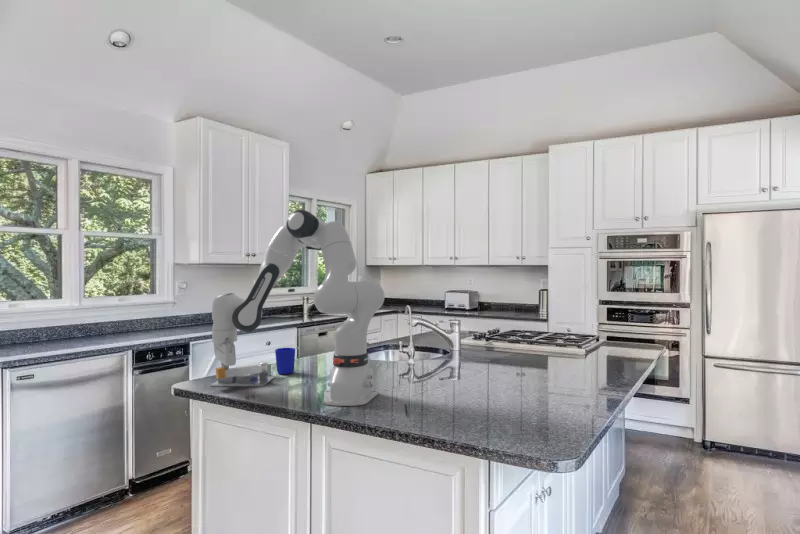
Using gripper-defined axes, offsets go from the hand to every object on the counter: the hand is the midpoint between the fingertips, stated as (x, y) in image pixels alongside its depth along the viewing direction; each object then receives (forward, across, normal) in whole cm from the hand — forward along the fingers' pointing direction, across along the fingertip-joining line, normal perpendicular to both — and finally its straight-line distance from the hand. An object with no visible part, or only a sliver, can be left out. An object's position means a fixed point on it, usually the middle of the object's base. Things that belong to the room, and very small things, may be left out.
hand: (225, 373), depth 192 cm
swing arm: (+1, -2, -6) cm, 6 cm away
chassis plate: (+5, +4, -8) cm, 10 cm away
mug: (+5, +12, -28) cm, 30 cm away
